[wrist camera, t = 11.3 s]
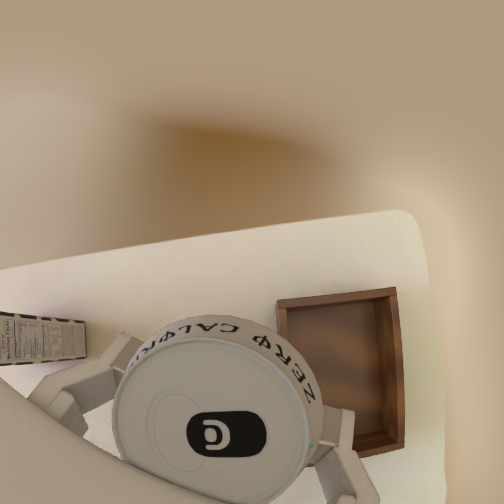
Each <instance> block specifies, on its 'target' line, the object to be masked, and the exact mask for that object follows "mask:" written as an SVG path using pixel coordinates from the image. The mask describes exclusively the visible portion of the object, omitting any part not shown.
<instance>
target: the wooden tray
mask: <svg viewBox="0 0 504 504" xmlns="http://www.w3.org/2000/svg"><path fill="white" fill-rule="evenodd" d="M275 306H276V318H277V329H278V335H279V336H281V337H282V338H284V339H285V340H287V341H288V342H289V343H290V344H291V345H292V346H293V347H294V348H295V349H296V350H297V351H298V352H299V353H300V354H301V355H302V356H303V358H304V360H305V361H306V363H307V364H308V366H309V367H310V369H311V370H312V372H313V373H314V376H315V378H316V381H317V383H318V386H319V389H320V391H321V397H322V403H323V404H326V405H330V406H335V407H339V408H341V409H346V410H351V411H354V413H355V422H354V434H353V444H352V450H355V451H356V453H357V455H358V456H359V458H364V457H369V456H373V455H378V454H382V453H386V452H390V451H394V450H398V449H401V448H404V436H405V399H404V371H403V354H402V341H401V329H400V319H399V310H398V301H397V293H396V287H390V288H382V289H374V290H366V291H358V292H349V293H341V294H332V295H323V296H313V297H303V298H293V299H282V300H277V302H276V305H275ZM314 465H315V464H311V463H308V465H307V466H306V467H312V466H314Z"/></svg>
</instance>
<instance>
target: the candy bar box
mask: <svg viewBox="0 0 504 504" xmlns="http://www.w3.org/2000/svg"><path fill="white" fill-rule="evenodd" d="M84 358H86V343H85V322H84V321H79V320H69V319H59V318H50V317H41V316H32V315H24V314H16V313H7V312H1V311H0V366H7V365H23V364H34V363H44V362H54V361H65V360H74V359H84Z"/></svg>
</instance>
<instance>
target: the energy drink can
mask: <svg viewBox="0 0 504 504" xmlns="http://www.w3.org/2000/svg"><path fill="white" fill-rule="evenodd" d="M323 414H324V409H323V403H322V397H321V391H320V389H319V386H318V383H317V381H316V378H315V376H314V373H313V372H312V370H311V369H310V367H309V366H308V364H307V363H306V361H305V360H304V358H303V356H302V355H301V354H300V353H299V352H298V351H297V350H296V349H295V348H294V347H293V346H292V345H291V344H290V343H289V342H288V341H287V340H285V339H284V338H282V337H281V336H279V335H278V334H276V333H275V332H273V331H272V330H271V329H269V328H266V327H264V326H262V325H260V324H257V323H255V322H253V321H250V320H246V319H242V318H237V317H233V316H227V315H204V316H197V317H191V318H186V319H184V320H181V321H178V322H175V323H172V324H170V325H168V326H166V327H165V328H163V329H161V330H160V331H158V332H156V333H155V334H153V335H152V336H151V337H150V338H149V339H148V340H147V341H146V342H145V343H144V344H143V345H141V346H140V347H139V349H138V350H137V352H136V353H135V355H134V356H133V357H132V359H131V360H130V362H129V364H128V366H127V369H126V371H125V374H124V376H123V378H122V380H121V381H120V384H119V386H118V389H117V391H116V394H115V396H114V402H113V408H112V430H113V434H114V438H115V442H116V446H117V449H118V451H119V453H120V455H121V457H122V459H123V461H124V462H127V463H129V464H131V465H133V466H135V467H137V468H139V469H141V470H143V471H145V472H148V473H150V474H152V475H154V476H156V477H159V478H161V479H163V480H166V481H168V482H170V483H173V484H175V485H178V486H180V487H183V488H185V489H188V490H191V491H193V492H196V493H199V494H201V495H204V496H207V497H210V498H213V499H216V500H219V501H222V502H226V503H229V504H268V503H269V502H271V501H272V500H274V499H275V498H276V497H278V496H279V495H281V494H282V493H283V492H284V491H285V490H286V489H287V488H288V487H289V486H290V485H291V484H292V482H293V481H294V480H295V479H296V477H297V476H298V475H299V474H300V473H301V472H302V471H303V469H304V468H305V467H306V466H307V465H308V463H309V462H310V460H311V458H312V456H313V454H314V453H315V451H316V449H317V447H318V443H319V440H320V437H321V433H322V430H323Z"/></svg>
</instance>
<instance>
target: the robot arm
mask: <svg viewBox="0 0 504 504" xmlns="http://www.w3.org/2000/svg"><path fill="white" fill-rule="evenodd" d="M144 343H145V342H143V341H141V340H139V339H137V338H135V337H133V336H130V335H128V334H126V333H124V332H122V333H120V334H119V335H118V336H117V337H116V338H115V340H114V341H113V342H112V343H111V345H110V346H109V347H108V348H107V349H106V351H105V352H104V353H103V354H102V356H101V357H100V358H99V359H98V360H97V359H93V360H90V361H87V362H84V363H82V364H79V365H76V366H73V367H70V368H67V369H65V370H62V371H59V372H56V373H53V374H50V375H47V376H45V377H44V378H43V380H42V381H41V382H40V383H39V384H38V386H37V387H36V388H35V389H34V390H33V392H32V393H31V394H30V395H29V397H28V398H27V399H26V398H25V397H24V396H22V395H21V394H20V393H19V392H17V391H16V390H15V389H14V388H13V387H11V386H10V385H9V384H8V383H7V382H5V381H4V380H3V379H2V378H1V377H0V504H229V503H226V502H222V501H219V500H216V499H213V498H210V497H207V496H204V495H201V494H199V493H196V492H193V491H191V490H188V489H185V488H183V487H180V486H178V485H175V484H173V483H170V482H168V481H166V480H163V479H161V478H159V477H156V476H154V475H152V474H150V473H148V472H145V471H143V470H141V469H139V468H137V467H135V466H133V465H131V464H129V463H127V462H124V461H123V460H121V459H119V458H117V457H116V456H114V455H112V454H110V453H108V452H106V451H105V450H103V449H101V448H99V447H97V446H96V445H94V444H92V443H91V442H89V441H87V440H86V439H84V438H82V437H83V436H84V434H85V432H86V431H87V429H88V424H87V422H86V421H85V419H84V417H83V414H85V413H87V412H89V411H91V410H93V409H95V408H97V407H99V406H100V405H102V404H104V403H106V402H108V401H110V400H112V399H114V396H115V394H116V391H117V389H118V386H119V384H120V381H121V380H122V378H123V376H124V374H125V371H126V369H127V366H128V364H129V362H130V360H131V359H132V357H133V356H134V355H135V353H136V352H137V350H138V349H139V347H140V346H141V345H143V344H144ZM323 409H324V414H323V430H322V433H321V437H320V440H319V443H318V447H317V449H316V451H315V453H314V454H313V456H312V458H311V460H310V462H309V463H311V464H315V465H314V466H315V469H316V472H317V475H318V477H319V480H320V483H321V486H322V489H323V492H324V494H325V497H326V500H327V504H380V497H379V495H378V493H377V491H376V489H375V487H374V485H373V483H372V482H371V480H370V478H369V476H368V474H367V472H366V470H365V468H364V466H363V464H362V462H361V460H360V458H359V456H358V455H357V453H356V451H355V450H352V444H353V434H354V422H355V413H354V411H351V410H346V409H341V408H339V407H335V406H330V405H326V404H323Z"/></svg>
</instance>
